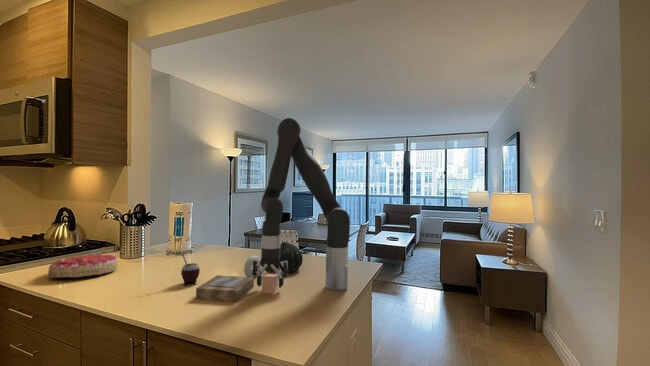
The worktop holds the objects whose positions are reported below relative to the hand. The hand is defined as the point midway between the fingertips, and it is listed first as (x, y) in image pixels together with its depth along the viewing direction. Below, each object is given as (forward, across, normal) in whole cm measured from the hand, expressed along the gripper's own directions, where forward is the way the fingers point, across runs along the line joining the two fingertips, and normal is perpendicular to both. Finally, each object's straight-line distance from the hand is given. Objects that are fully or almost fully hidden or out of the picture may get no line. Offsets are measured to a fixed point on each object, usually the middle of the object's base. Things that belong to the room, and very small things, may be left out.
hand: (270, 286), depth 118 cm
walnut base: (+2, +16, +5) cm, 17 cm away
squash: (+2, 0, -29) cm, 29 cm away
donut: (+2, +13, -15) cm, 20 cm away
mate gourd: (+2, +36, -2) cm, 36 cm away
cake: (+2, +91, -7) cm, 91 cm away
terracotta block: (+2, 0, 0) cm, 2 cm away
